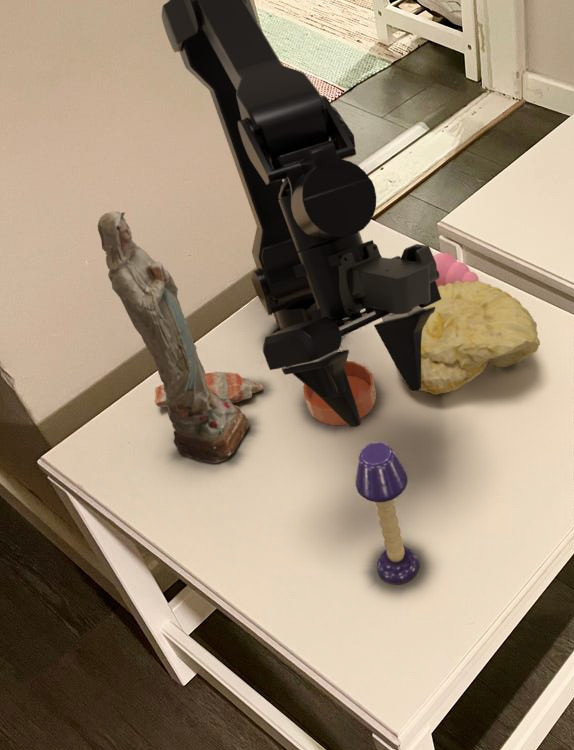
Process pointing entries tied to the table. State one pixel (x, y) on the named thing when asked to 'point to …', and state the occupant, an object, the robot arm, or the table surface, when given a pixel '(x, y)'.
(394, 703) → the table surface
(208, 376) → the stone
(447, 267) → the dog chew toy
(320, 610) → the table surface
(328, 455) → the table surface
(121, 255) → the statue
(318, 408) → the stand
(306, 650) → the table surface
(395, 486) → the toy lamp
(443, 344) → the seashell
